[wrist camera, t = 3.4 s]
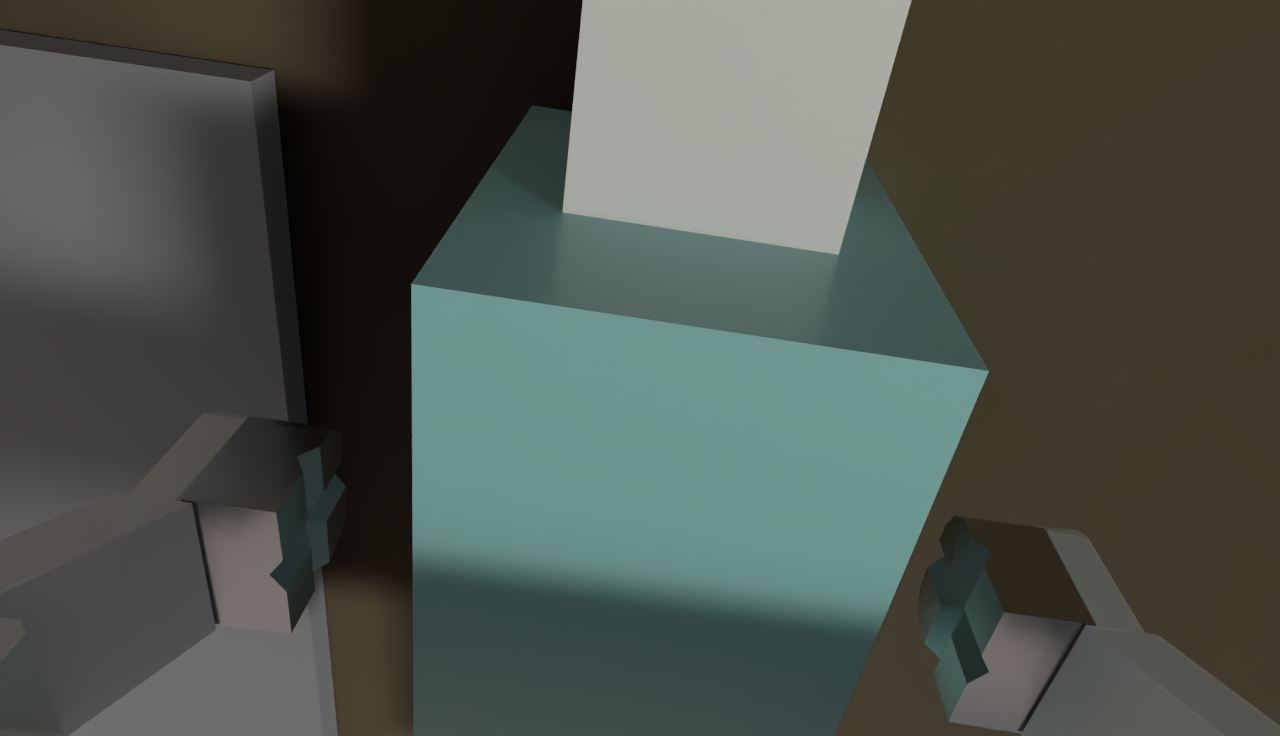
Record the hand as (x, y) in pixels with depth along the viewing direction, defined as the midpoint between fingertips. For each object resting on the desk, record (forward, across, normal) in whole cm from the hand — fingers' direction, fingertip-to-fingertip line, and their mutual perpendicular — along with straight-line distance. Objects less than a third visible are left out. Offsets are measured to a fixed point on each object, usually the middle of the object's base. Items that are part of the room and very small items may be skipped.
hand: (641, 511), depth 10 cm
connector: (+2, 0, 0) cm, 2 cm away
